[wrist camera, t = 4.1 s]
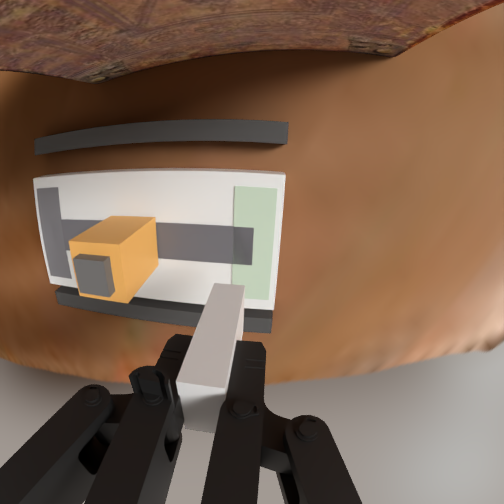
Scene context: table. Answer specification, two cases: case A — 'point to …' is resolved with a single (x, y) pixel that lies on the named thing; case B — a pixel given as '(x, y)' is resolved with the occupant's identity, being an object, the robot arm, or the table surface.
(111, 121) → the table surface
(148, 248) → the lever
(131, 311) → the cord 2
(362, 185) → the table surface
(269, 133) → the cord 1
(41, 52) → the book
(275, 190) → the panel
